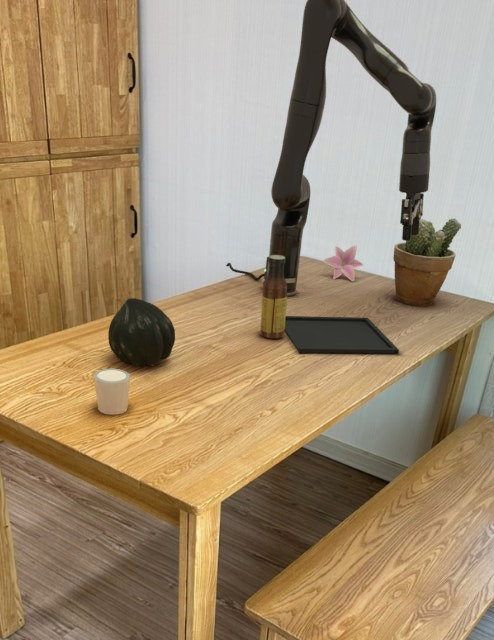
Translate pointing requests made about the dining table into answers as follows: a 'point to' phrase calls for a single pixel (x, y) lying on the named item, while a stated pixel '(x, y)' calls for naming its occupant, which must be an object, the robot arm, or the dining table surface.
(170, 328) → the squash
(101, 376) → the white cup
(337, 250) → the lily
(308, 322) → the tray
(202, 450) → the dining table surface
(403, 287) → the potted plant
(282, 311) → the sauce bottle
